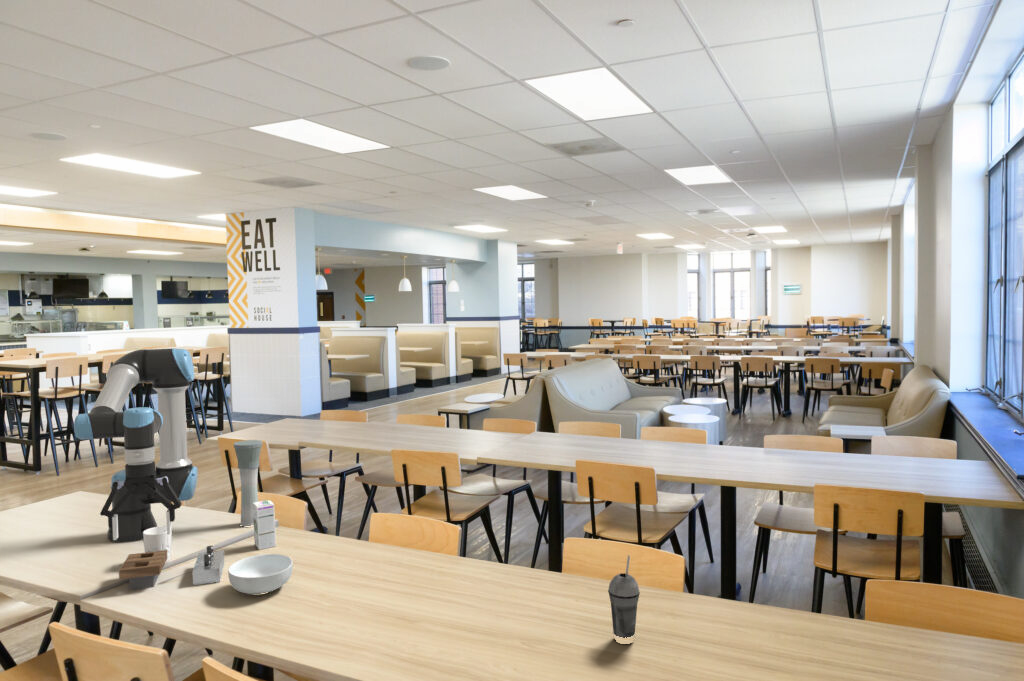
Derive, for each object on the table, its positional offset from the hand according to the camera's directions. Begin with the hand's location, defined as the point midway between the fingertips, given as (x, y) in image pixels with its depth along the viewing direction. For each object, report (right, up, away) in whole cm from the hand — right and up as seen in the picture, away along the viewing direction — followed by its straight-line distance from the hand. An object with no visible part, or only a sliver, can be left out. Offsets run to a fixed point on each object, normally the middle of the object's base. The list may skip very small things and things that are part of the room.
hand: (142, 535), depth 190 cm
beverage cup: (+132, -14, -35) cm, 137 cm away
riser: (0, -14, +1) cm, 14 cm away
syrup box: (+24, -12, +29) cm, 40 cm away
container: (+10, -11, +52) cm, 54 cm away
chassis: (+16, -13, +6) cm, 22 cm away
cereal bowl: (+36, -14, -5) cm, 39 cm away
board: (0, -10, +1) cm, 10 cm away
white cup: (-4, -13, +16) cm, 21 cm away
